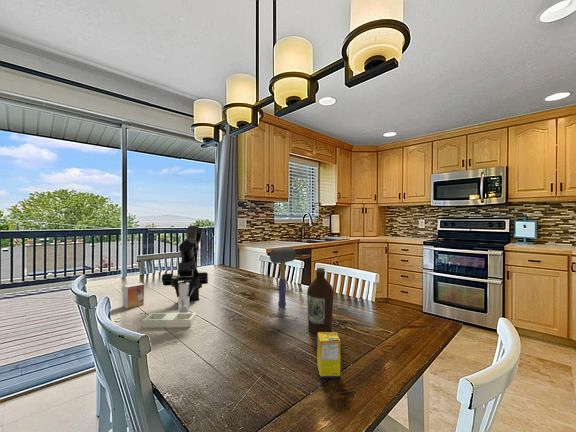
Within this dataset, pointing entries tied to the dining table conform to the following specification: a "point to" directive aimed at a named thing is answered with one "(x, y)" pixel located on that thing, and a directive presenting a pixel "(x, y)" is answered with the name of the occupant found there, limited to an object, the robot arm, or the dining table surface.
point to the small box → (133, 295)
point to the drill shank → (183, 297)
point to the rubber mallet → (282, 269)
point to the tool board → (169, 320)
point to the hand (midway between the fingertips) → (183, 296)
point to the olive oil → (320, 304)
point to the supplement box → (328, 355)
